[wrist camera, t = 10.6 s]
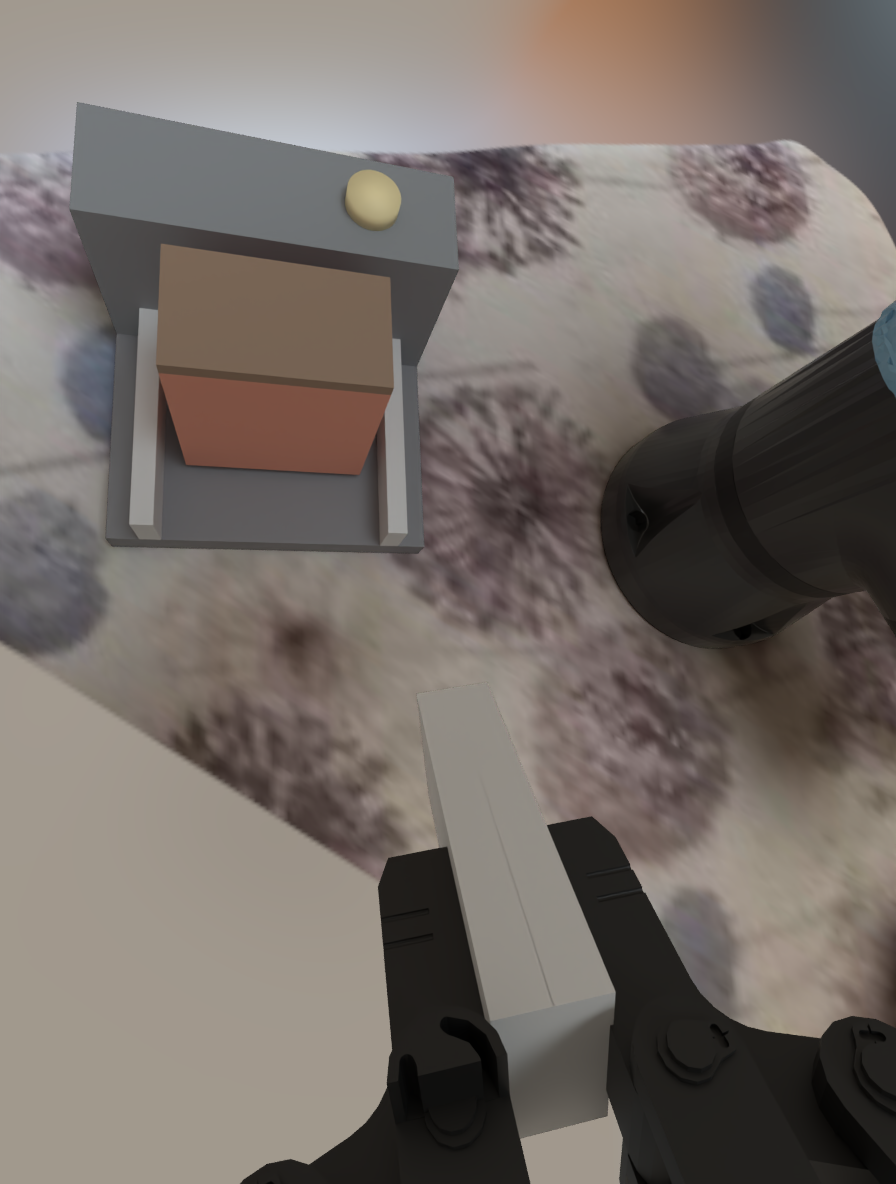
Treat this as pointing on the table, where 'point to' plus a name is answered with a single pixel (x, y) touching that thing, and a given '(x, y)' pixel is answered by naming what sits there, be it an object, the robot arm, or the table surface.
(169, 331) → the orange brown-topped block
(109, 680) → the table surface
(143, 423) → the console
